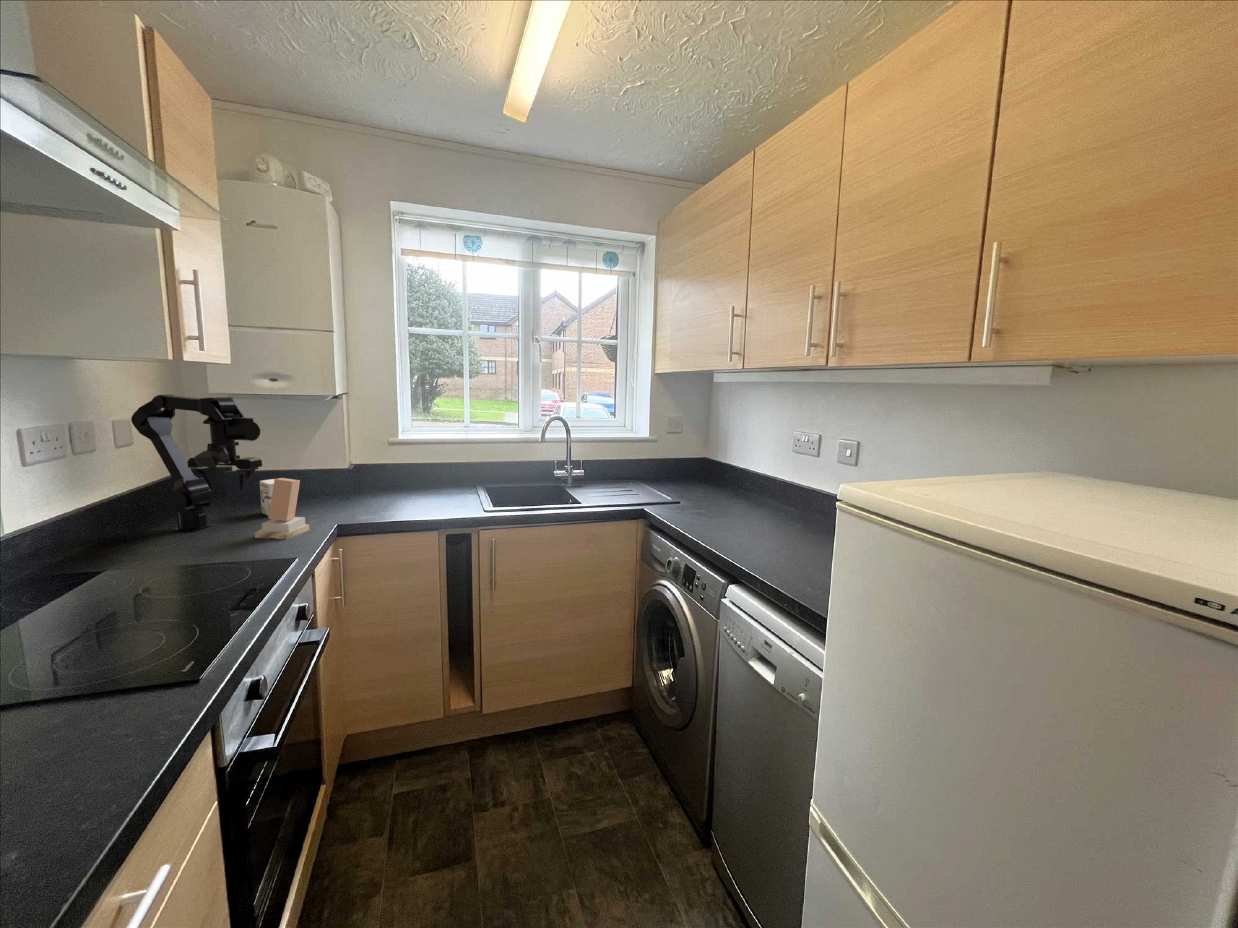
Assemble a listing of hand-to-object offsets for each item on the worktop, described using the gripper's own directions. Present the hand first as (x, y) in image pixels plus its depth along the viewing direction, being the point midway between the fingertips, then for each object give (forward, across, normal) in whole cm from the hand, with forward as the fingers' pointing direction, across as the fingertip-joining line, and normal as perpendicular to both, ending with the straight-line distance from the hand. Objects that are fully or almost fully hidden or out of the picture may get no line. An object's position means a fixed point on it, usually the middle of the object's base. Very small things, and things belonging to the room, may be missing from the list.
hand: (227, 490), depth 155 cm
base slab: (+14, +16, 0) cm, 21 cm away
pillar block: (+8, +16, 0) cm, 18 cm away
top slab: (+11, +16, 0) cm, 20 cm away
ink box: (+13, -2, +22) cm, 26 cm away
